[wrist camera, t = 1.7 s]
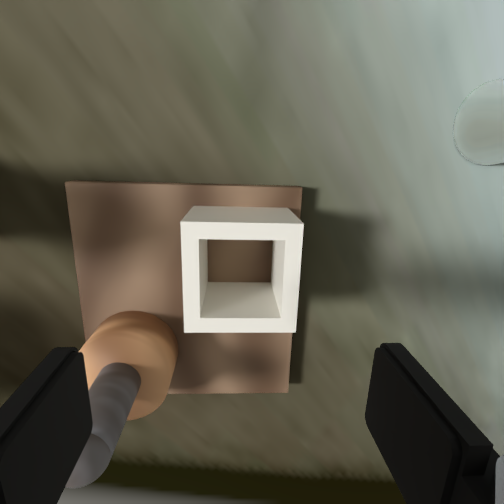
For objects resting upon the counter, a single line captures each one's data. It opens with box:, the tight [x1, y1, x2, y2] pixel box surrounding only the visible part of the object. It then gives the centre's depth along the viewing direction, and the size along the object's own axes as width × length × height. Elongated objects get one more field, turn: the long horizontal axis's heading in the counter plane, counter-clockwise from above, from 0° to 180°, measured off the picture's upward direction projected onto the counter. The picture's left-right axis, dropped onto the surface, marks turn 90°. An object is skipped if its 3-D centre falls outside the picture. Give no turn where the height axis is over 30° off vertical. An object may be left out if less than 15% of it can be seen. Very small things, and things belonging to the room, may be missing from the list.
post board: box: [65, 180, 302, 488], centre depth 21 cm, size 17×18×13 cm
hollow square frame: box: [180, 206, 304, 333], centre depth 22 cm, size 7×7×6 cm
